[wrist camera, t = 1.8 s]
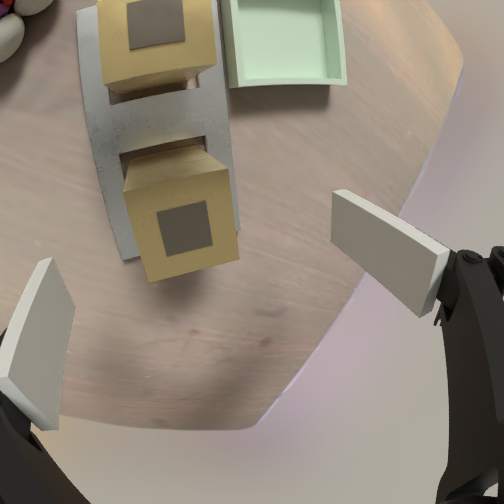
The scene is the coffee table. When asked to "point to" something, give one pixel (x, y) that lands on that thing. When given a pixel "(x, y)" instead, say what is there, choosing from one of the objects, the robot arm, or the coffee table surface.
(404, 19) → the coffee table surface
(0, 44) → the colorful toy
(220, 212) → the brass block
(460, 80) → the coffee table surface
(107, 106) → the grey frame plate
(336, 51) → the tray
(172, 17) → the tan textured tower
